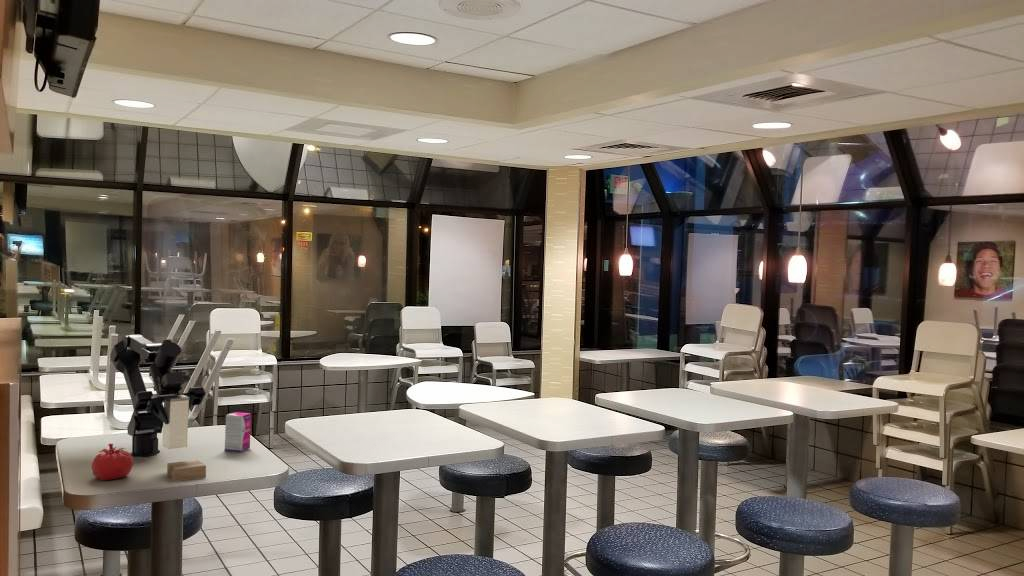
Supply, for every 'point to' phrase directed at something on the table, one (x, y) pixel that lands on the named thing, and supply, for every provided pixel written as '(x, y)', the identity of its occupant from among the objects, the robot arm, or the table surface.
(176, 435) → the white tall block
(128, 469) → the red tomato
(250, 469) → the table surface
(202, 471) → the walnut block
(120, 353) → the robot arm
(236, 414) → the supplement box
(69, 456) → the table surface
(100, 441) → the table surface
